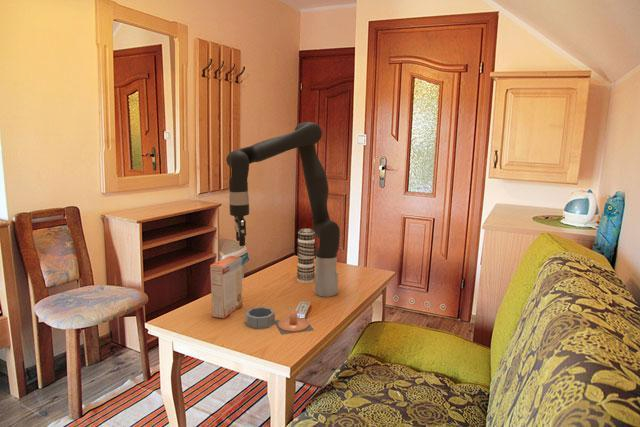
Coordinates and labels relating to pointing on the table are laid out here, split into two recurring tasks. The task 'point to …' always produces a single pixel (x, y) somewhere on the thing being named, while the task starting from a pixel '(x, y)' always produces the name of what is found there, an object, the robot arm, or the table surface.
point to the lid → (293, 323)
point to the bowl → (260, 317)
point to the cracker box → (226, 286)
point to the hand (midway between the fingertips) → (240, 243)
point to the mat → (292, 332)
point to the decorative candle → (306, 256)
